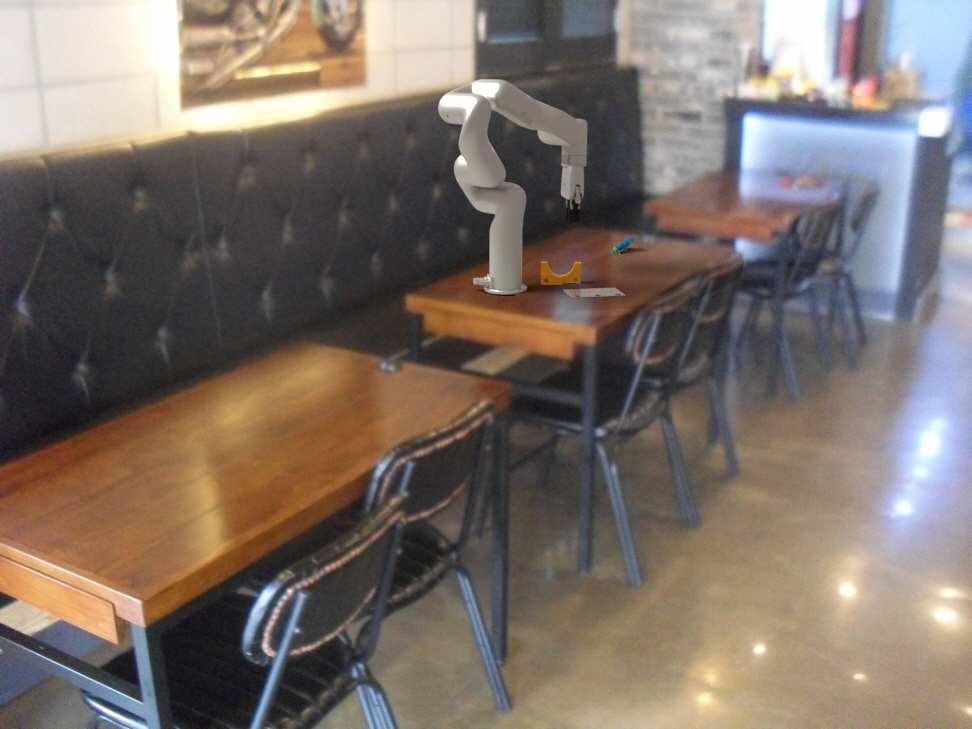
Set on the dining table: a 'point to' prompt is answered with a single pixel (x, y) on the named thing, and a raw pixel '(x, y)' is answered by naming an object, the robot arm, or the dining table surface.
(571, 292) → the door panel
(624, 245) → the gear
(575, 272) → the pipe clamp
